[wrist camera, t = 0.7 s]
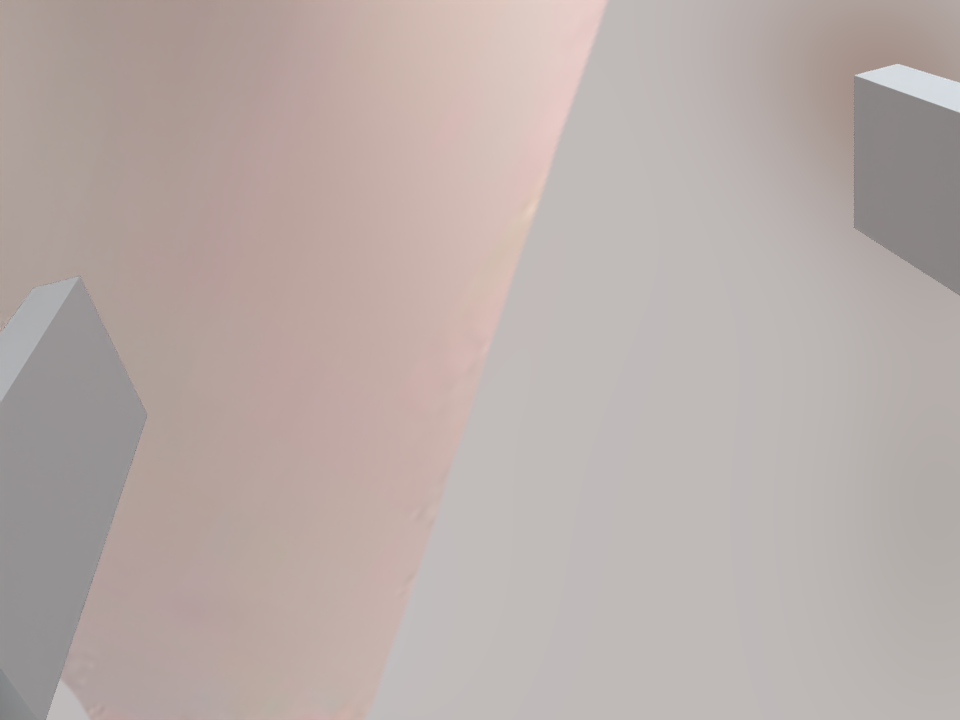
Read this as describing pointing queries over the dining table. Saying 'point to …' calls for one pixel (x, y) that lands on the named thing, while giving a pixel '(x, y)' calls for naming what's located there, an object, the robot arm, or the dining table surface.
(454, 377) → the dining table surface
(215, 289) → the dining table surface
